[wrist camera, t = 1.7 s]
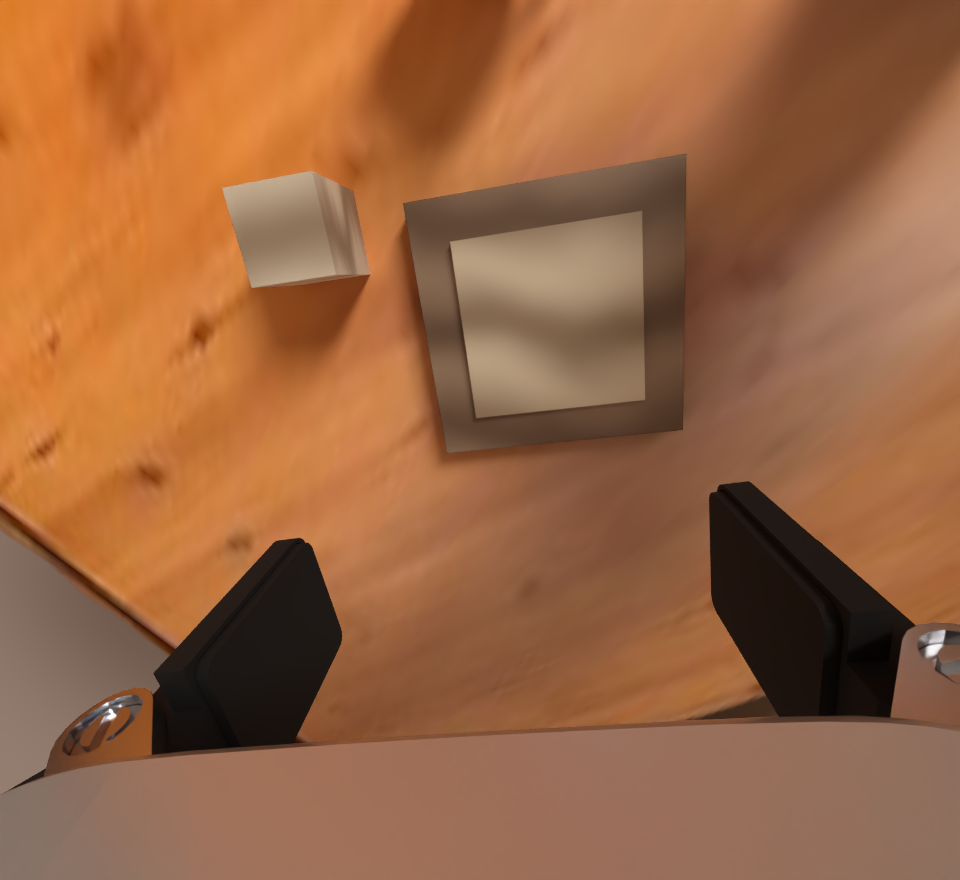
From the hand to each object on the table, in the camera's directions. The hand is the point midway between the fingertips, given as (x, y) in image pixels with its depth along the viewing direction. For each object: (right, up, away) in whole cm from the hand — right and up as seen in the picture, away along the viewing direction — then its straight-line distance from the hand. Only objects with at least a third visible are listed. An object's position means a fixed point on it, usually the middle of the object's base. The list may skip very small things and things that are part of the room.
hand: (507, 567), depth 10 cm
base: (+4, +11, +20) cm, 23 cm away
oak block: (-11, +16, +19) cm, 27 cm away
